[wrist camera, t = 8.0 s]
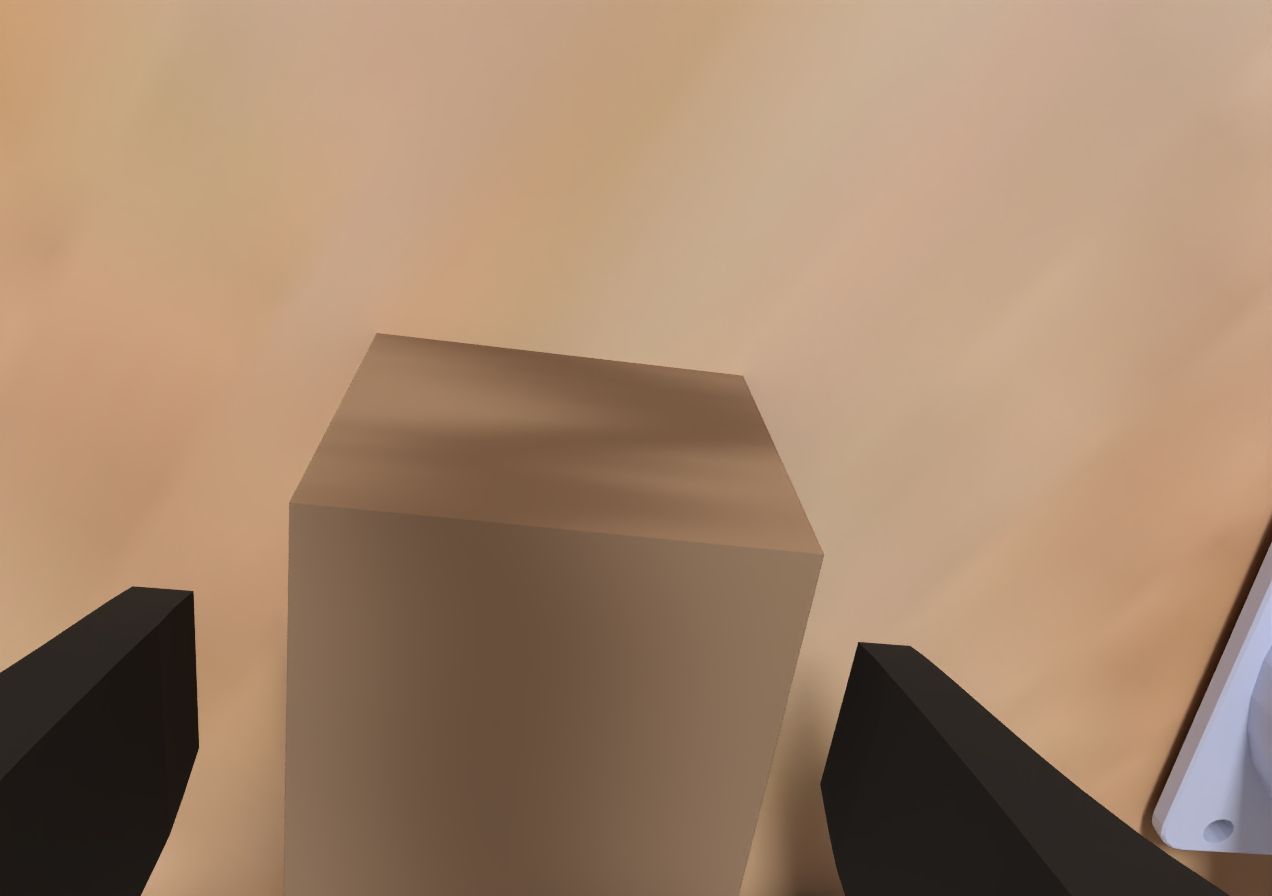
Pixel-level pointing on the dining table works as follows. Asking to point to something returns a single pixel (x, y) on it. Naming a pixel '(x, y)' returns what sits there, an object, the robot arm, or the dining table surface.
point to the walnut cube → (537, 628)
